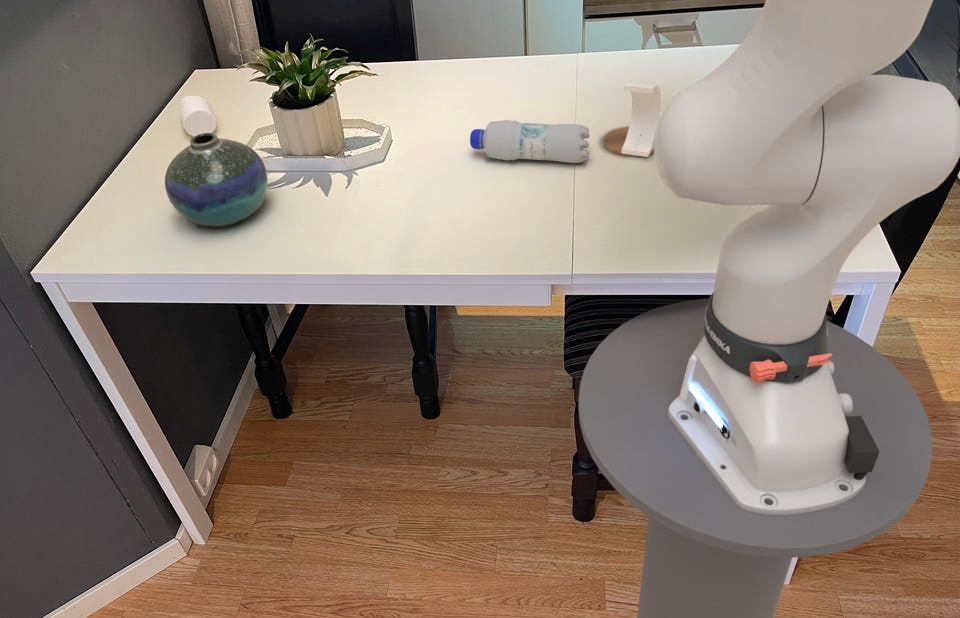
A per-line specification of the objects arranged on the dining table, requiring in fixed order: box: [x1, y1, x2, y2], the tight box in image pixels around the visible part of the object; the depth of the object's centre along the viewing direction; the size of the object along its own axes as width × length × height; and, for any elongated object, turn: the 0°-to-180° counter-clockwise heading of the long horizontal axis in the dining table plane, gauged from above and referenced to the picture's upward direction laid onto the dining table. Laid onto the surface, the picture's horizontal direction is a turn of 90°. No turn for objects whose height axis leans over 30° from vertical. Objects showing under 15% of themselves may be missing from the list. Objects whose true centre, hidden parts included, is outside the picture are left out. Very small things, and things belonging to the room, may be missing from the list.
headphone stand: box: [621, 82, 661, 158], centre depth 130 cm, size 5×6×12 cm
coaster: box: [603, 126, 654, 157], centre depth 136 cm, size 10×10×1 cm
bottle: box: [469, 119, 590, 164], centre depth 132 cm, size 7×7×20 cm
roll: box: [178, 95, 217, 138], centre depth 151 cm, size 6×12×6 cm, turn 23°
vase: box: [164, 132, 269, 227], centre depth 123 cm, size 15×15×13 cm
